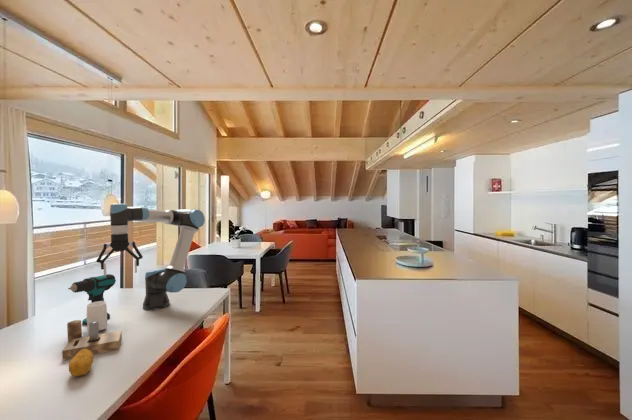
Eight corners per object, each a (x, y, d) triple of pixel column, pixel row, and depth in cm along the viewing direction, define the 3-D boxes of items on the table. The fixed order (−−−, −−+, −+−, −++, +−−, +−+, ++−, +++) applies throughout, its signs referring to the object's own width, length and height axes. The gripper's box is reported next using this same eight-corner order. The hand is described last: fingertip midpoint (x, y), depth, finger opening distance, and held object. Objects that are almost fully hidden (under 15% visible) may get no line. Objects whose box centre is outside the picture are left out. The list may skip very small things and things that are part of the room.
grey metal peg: (99, 346, 141) (98, 320, 140) (98, 349, 138) (97, 323, 137) (90, 348, 139) (89, 321, 139) (89, 351, 136) (88, 324, 136)
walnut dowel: (83, 339, 147) (82, 319, 147) (80, 344, 143) (80, 323, 143) (69, 342, 145) (68, 321, 145) (66, 346, 140) (65, 325, 140)
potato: (64, 384, 111) (63, 365, 111) (75, 365, 124) (74, 348, 124) (88, 379, 114) (87, 361, 114) (96, 361, 127) (96, 344, 127)
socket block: (121, 338, 148) (121, 330, 148) (119, 349, 138) (118, 340, 138) (69, 348, 139) (69, 339, 139) (62, 360, 128) (62, 350, 128)
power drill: (77, 332, 156) (75, 283, 155) (62, 331, 157) (61, 283, 157) (119, 314, 181) (118, 272, 180) (106, 313, 183) (105, 271, 182)
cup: (111, 328, 160) (110, 301, 160) (95, 335, 152) (94, 307, 152) (99, 326, 163) (98, 300, 163) (83, 333, 155) (82, 305, 155)
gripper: (147, 231, 169) (148, 269, 169) (91, 234, 157) (92, 275, 158) (146, 232, 162) (147, 272, 163) (88, 235, 150) (90, 278, 151)
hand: (120, 273), depth 160 cm, fingers open, 13 cm apart
